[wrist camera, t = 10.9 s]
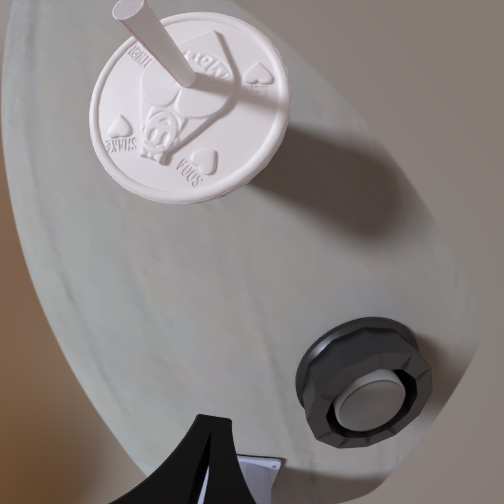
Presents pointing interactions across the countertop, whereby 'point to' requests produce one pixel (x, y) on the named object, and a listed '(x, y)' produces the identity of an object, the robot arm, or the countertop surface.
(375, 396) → the cap
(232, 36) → the smoothie
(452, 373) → the countertop surface
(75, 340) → the countertop surface
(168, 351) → the countertop surface
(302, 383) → the dark grey pot
